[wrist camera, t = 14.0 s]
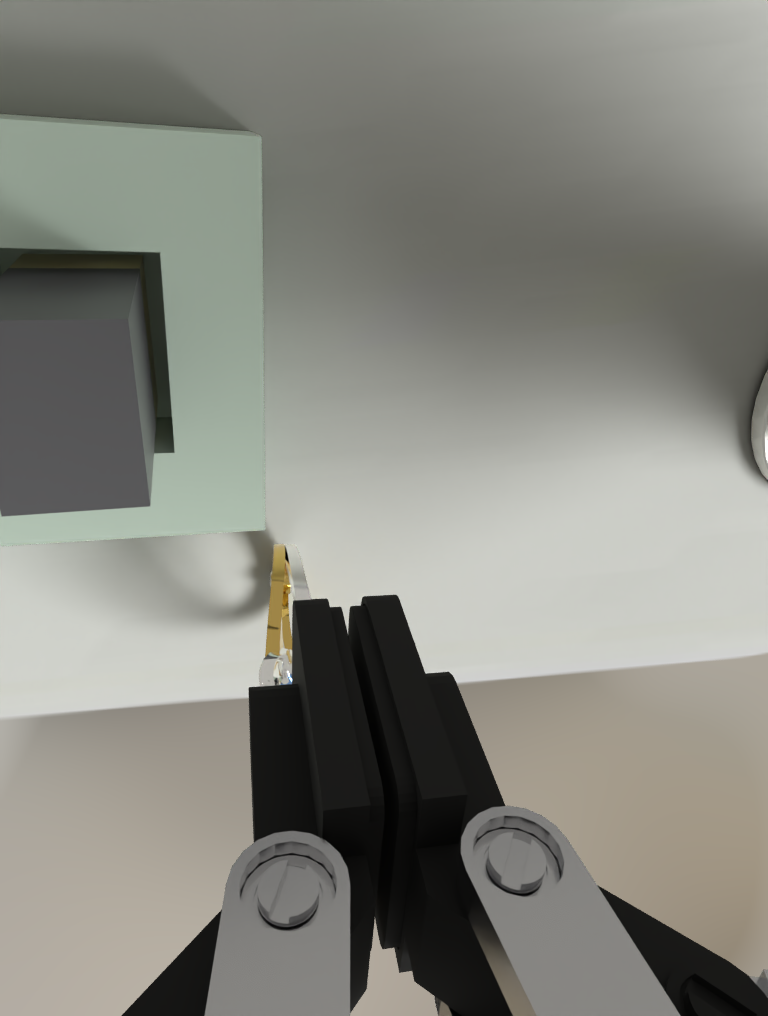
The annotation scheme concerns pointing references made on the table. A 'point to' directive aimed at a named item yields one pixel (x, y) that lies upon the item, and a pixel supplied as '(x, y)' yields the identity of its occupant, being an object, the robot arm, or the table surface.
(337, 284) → the table surface
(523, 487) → the table surface
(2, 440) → the plug
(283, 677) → the ring
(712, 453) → the table surface
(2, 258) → the socket
